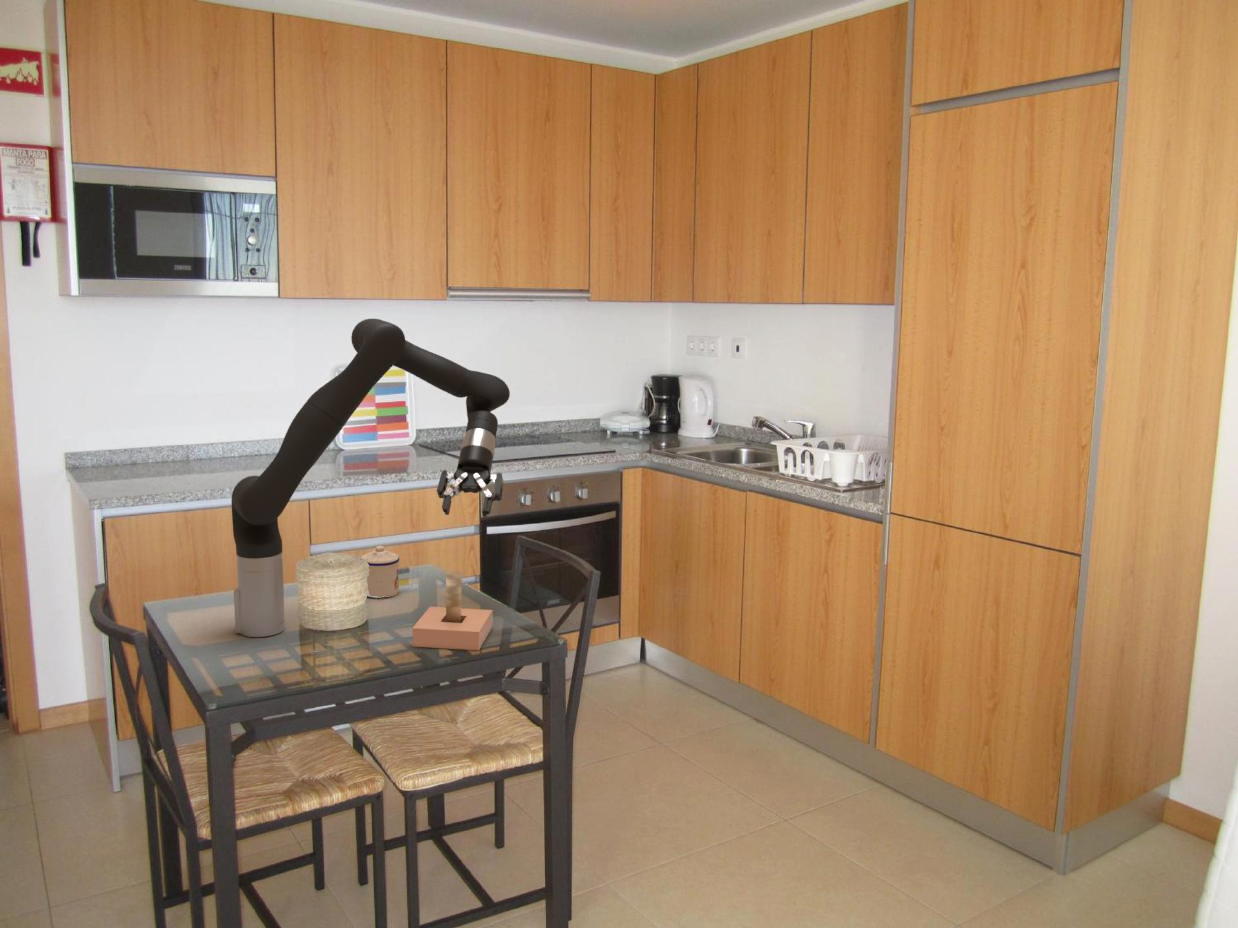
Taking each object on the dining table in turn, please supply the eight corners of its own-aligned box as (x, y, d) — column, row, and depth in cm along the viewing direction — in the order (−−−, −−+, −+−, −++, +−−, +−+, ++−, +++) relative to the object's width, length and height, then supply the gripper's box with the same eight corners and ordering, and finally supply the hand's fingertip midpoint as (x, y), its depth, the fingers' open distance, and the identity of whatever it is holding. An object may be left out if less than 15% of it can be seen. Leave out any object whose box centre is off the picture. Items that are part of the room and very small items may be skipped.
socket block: (412, 646, 211) (412, 628, 211) (430, 623, 225) (430, 606, 224) (478, 650, 210) (478, 631, 210) (492, 627, 224) (492, 609, 223)
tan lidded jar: (404, 596, 243) (403, 549, 241) (366, 601, 239) (365, 553, 237) (390, 582, 253) (390, 537, 251) (354, 586, 249) (353, 540, 247)
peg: (444, 638, 216) (444, 575, 214) (448, 633, 219) (448, 571, 217) (459, 639, 216) (459, 576, 213) (462, 634, 219) (462, 571, 217)
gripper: (443, 442, 229) (430, 503, 220) (505, 444, 228) (494, 506, 219) (449, 461, 235) (436, 521, 226) (510, 463, 234) (499, 524, 225)
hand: (465, 513), depth 222 cm, fingers open, 8 cm apart
